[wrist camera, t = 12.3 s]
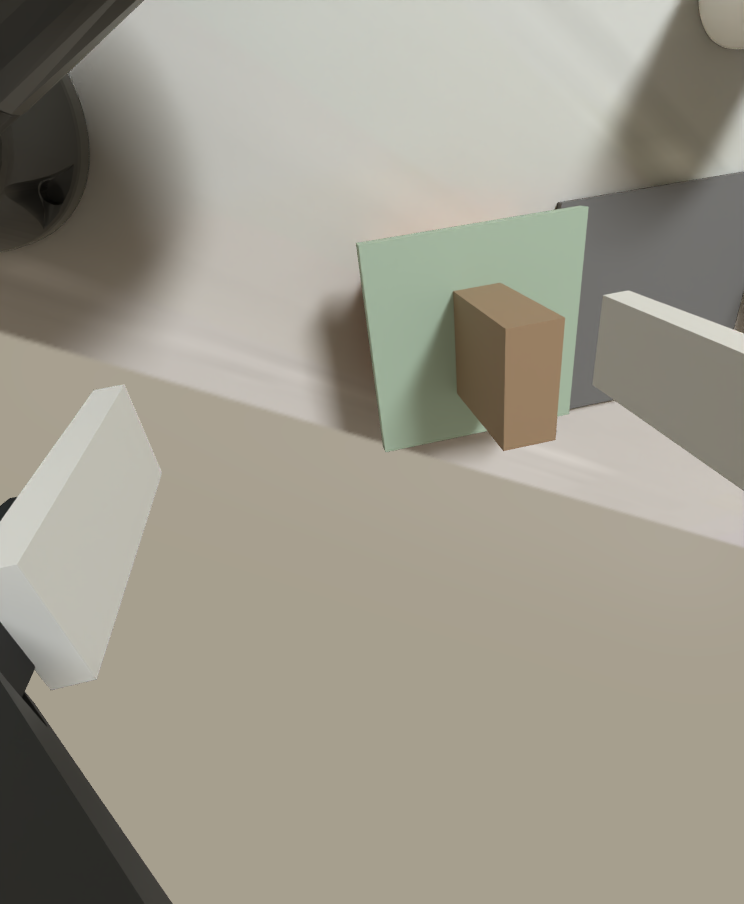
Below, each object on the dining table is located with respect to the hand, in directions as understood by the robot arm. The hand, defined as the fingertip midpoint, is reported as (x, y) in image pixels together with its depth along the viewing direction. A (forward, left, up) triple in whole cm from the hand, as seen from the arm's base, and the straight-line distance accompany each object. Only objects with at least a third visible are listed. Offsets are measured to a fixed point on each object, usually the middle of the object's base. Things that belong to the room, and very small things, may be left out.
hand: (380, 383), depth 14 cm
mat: (+10, +30, -29) cm, 43 cm away
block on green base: (+8, +11, -23) cm, 26 cm away
